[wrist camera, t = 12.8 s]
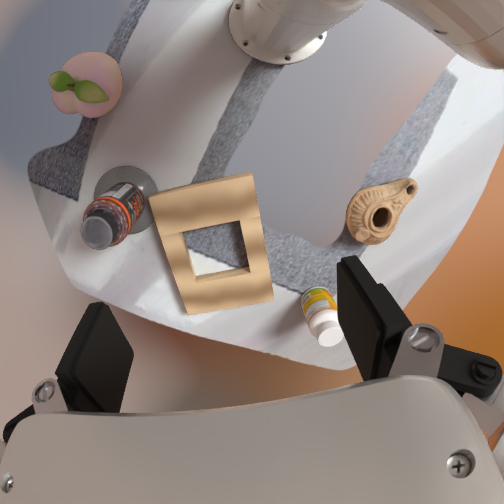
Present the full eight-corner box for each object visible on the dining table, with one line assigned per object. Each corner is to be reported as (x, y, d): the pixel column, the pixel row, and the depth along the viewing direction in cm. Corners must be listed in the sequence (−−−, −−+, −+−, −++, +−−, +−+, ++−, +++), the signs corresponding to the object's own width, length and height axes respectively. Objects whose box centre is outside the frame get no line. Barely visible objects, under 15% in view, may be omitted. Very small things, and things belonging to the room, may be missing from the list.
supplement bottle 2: (331, 306, 51) (348, 344, 42) (302, 314, 51) (315, 354, 43) (328, 281, 48) (348, 319, 40) (297, 290, 49) (311, 329, 40)
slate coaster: (87, 177, 37) (85, 178, 36) (149, 157, 37) (147, 158, 36) (108, 238, 42) (107, 240, 41) (167, 224, 41) (167, 226, 41)
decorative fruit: (143, 62, 30) (117, 50, 22) (125, 119, 34) (94, 125, 25) (84, 53, 28) (47, 44, 20) (68, 108, 32) (29, 113, 23)
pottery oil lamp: (418, 196, 42) (432, 231, 38) (352, 220, 47) (360, 256, 44) (408, 158, 36) (426, 195, 32) (333, 187, 41) (342, 226, 38)
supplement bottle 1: (149, 219, 40) (125, 258, 30) (111, 221, 40) (80, 260, 30) (143, 178, 37) (115, 206, 27) (104, 182, 37) (67, 211, 27)
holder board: (151, 193, 39) (148, 198, 37) (251, 171, 39) (252, 175, 37) (189, 307, 49) (188, 315, 47) (272, 292, 48) (274, 300, 47)
